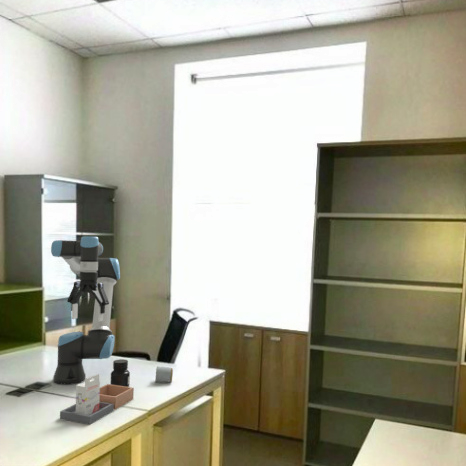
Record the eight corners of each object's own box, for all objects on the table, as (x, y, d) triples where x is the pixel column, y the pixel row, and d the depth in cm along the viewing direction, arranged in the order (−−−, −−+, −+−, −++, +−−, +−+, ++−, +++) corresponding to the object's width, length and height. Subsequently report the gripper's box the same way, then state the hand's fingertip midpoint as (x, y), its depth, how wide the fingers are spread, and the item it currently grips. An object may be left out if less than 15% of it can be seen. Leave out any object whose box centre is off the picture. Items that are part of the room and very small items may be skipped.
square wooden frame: (87, 405, 190) (88, 393, 190) (107, 395, 202) (107, 383, 203) (115, 409, 185) (115, 397, 185) (133, 399, 198) (133, 387, 198)
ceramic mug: (172, 384, 220) (172, 368, 221) (155, 384, 219) (155, 368, 220) (173, 378, 231) (173, 363, 231) (156, 378, 230) (157, 363, 230)
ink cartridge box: (90, 408, 184) (91, 371, 184) (99, 410, 182) (100, 373, 182) (74, 415, 176) (75, 377, 177) (84, 417, 174) (85, 379, 175)
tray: (59, 419, 174) (60, 411, 174) (84, 406, 188) (85, 399, 188) (89, 424, 169) (90, 416, 169) (113, 411, 183) (113, 403, 184)
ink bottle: (133, 386, 216) (134, 361, 216) (117, 390, 209) (118, 364, 209) (122, 382, 222) (122, 357, 223) (106, 385, 216) (107, 360, 216)
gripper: (59, 270, 198) (58, 318, 198) (107, 272, 190) (106, 323, 189) (71, 269, 205) (70, 316, 205) (117, 272, 197) (116, 320, 196)
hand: (87, 319), depth 197 cm, fingers open, 13 cm apart
